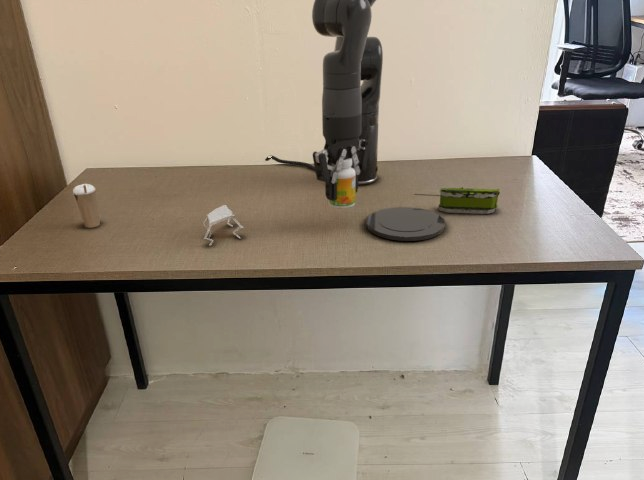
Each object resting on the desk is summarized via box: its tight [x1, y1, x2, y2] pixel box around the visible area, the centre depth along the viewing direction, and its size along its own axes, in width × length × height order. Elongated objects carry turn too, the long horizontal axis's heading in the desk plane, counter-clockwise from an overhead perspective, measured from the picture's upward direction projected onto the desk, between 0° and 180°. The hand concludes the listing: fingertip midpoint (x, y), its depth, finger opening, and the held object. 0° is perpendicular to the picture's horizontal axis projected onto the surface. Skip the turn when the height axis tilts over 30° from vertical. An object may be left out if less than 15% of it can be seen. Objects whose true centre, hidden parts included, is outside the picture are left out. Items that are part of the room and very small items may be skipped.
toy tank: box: [413, 187, 501, 215], centre depth 125 cm, size 7×19×10 cm
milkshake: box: [72, 183, 101, 229], centre depth 123 cm, size 5×5×10 cm
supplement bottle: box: [328, 158, 356, 210], centre depth 116 cm, size 5×5×10 cm
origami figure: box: [202, 204, 245, 246], centre depth 117 cm, size 12×8×5 cm
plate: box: [366, 206, 446, 242], centre depth 118 cm, size 16×16×1 cm
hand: (342, 195), depth 117 cm, fingers closed on supplement bottle, 5 cm apart
